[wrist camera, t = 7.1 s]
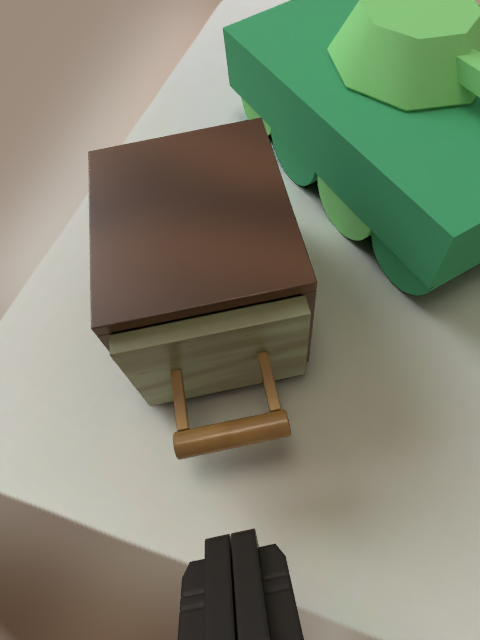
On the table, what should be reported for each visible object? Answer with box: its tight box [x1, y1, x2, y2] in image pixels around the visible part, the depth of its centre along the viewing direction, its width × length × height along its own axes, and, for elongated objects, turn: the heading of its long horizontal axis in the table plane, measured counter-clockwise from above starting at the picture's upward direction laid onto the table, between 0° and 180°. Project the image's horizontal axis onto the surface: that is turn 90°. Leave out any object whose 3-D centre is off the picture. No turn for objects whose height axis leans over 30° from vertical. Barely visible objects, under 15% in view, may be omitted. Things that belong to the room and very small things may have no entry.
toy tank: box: [223, 0, 480, 296], centre depth 33 cm, size 18×12×35 cm
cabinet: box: [88, 117, 317, 362], centre depth 30 cm, size 14×12×10 cm
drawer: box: [109, 295, 311, 460], centre depth 28 cm, size 17×10×8 cm, turn 11°
